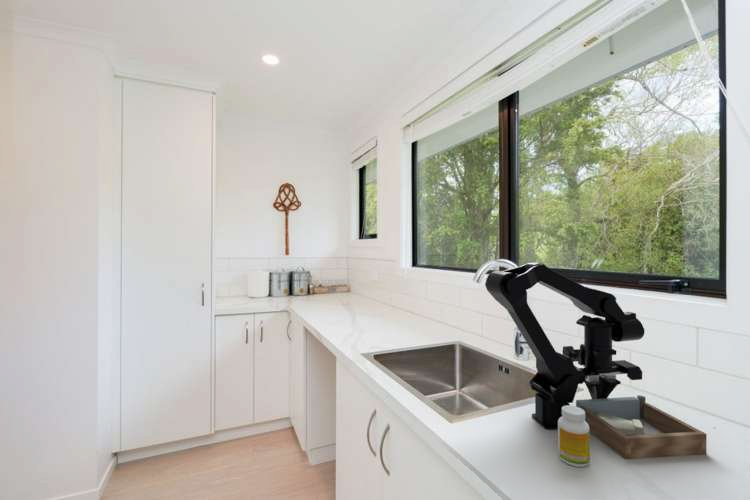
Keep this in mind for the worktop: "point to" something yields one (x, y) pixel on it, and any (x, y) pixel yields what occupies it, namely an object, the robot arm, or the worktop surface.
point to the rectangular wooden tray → (650, 435)
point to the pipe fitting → (623, 424)
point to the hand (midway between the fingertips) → (597, 406)
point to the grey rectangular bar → (613, 406)
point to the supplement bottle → (573, 437)
